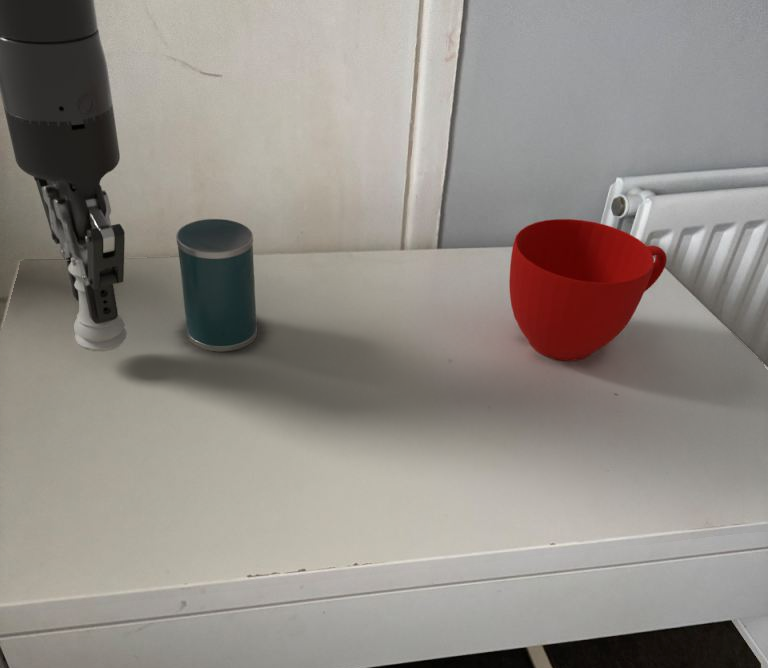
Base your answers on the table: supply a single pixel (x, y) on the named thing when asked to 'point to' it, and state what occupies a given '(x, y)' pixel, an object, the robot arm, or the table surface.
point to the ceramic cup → (578, 284)
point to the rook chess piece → (84, 327)
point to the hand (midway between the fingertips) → (96, 308)
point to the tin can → (218, 283)
